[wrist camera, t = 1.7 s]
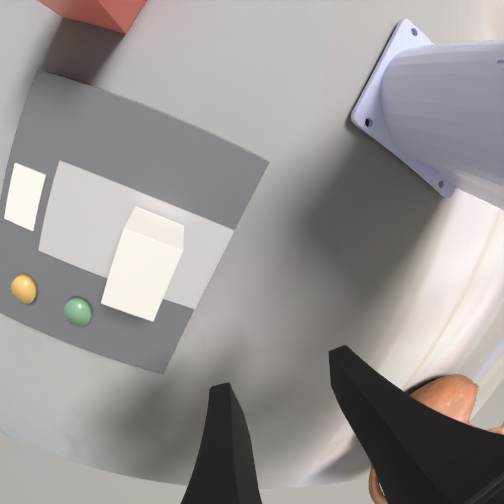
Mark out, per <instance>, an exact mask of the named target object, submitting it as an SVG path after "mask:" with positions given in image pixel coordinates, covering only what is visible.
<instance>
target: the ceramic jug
mask: <svg viewBox="0 0 504 504" xmlns="http://www.w3.org/2000/svg"><path fill="white" fill-rule="evenodd" d="M479 388H480V387H479V386H478V385H477V384H474V383H473V382H472V380H470V379H469V378H467V377H465V376H463V375H448V376H444V377H441V378H438V379H436V380H434V381H432V382H430V383H428V384H426V385H424V386H422V387H421V388H419V389H417V390H416V391H414V392H413V393H412V394H410V396H411V397H413V398H415V399H416V400H418V401H419V402H421V403H423V404H425V405H426V406H428V407H430V408H432V409H434V410H436V411H438V412H440V413H442V414H444V415H446V416H448V417H451V418H453V419H456V420H458V421H461V422H463V423H466V424H468V425H471V424H470V423H469V419H470V416H471V413H472V410H473V407H474V404H475V401H476V395H477V393H478V390H479ZM471 426H473V425H471ZM474 427H475V426H474ZM477 428H478V427H477ZM487 431H490V432H494V433H498V434H503V435H504V423H503V425H502V426H501V427H499V428H495V429H490V430H487ZM369 492H370V495H371V498H372V500H373V501H374V503H375V504H388V503H387V500H386V497H385V496H384V495H383V492H382V491H381V489H380V485H379V480H378V477H377V475H376V473H375V470H374V468H373V466H371V471H370V476H369Z"/></svg>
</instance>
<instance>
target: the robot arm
mask: <svg viewBox="0 0 504 504" xmlns="http://www.w3.org/2000/svg"><path fill="white" fill-rule="evenodd" d="M411 30H412V31H413V34H414V35H413V34H412V33H411ZM367 118H368V120H369V125H368V126H366V125H365V120H366V119H367ZM351 120H352V122H353V123H354V125H356V126H357V127H359V128H360V129H361V130H363V131H364V132H365V133H367V134H368V135H370V136H371V137H372V138H374V139H375V140H376V141H378V142H379V143H380V144H381V145H383V146H384V147H385V148H387V149H388V150H389V151H390V152H392V153H393V154H394V155H395V156H397V157H398V158H399V159H400V160H402V161H403V162H404V163H405V164H406V165H408V166H409V167H410V168H411V169H412V170H414V171H415V172H416V173H417V174H418V175H419V176H421V177H422V178H423V179H424V180H425V181H426V182H427V183H428V184H430V185H431V186H432V187H433V188H434V189H435V190H436V191H437V192H438V193H439V194H441V195H442V196H443V197H445V198H449V197H451V195H452V193H453V191H454V189H455V188H458V189H460V190H462V191H465V192H467V193H469V194H471V195H474V196H476V197H478V198H480V199H482V200H484V201H487V202H489V203H491V204H493V205H495V206H497V207H499V208H501V209H503V210H504V40H489V41H468V42H455V43H444V44H435V45H434V44H433V43H432V42H431V41H430V40H429V39H428V38H427V37H426V36H425V35H424V34H423V33H422V32H421V31H420V30H419V29H418V28H417V27H416V26H415V25H414V24H413V23H412V22H410V21H409V20H407V19H404V20H400V21H399V23H398V25H397V27H396V29H395V31H394V33H393V35H392V37H391V39H390V41H389V42H388V44H387V46H386V48H385V50H384V52H383V54H382V56H381V58H380V60H379V62H378V64H377V66H376V68H375V70H374V71H373V73H372V75H371V77H370V79H369V81H368V83H367V85H366V87H365V89H364V90H363V92H362V94H361V96H360V98H359V100H358V102H357V104H356V106H355V107H354V109H353V111H352V114H351ZM439 182H440V185H439ZM329 363H330V377H331V387H332V389H333V391H334V394H335V396H336V399H337V401H338V403H339V406H340V408H341V410H342V412H343V413H344V415H345V417H346V419H347V420H348V422H349V424H350V426H351V427H352V429H353V431H354V433H355V434H356V436H357V438H358V440H359V441H360V443H361V445H362V446H363V448H364V450H365V452H366V453H367V455H368V457H369V459H370V461H371V463H372V466H373V468H374V470H375V473H376V475H377V477H378V480H379V482H380V485H381V487H382V489H383V492H384V495H385V497H386V500H387V503H388V504H504V435H503V434H498V433H494V432H490V431H487V430H483V429H480V428H477V427H474V426H471V425H468V424H466V423H463V422H461V421H458V420H456V419H453V418H451V417H448V416H446V415H444V414H442V413H440V412H438V411H436V410H434V409H432V408H430V407H428V406H426V405H425V404H423V403H421V402H419V401H418V400H416V399H415V398H413V397H411V396H410V395H408V394H407V393H405V392H404V391H402V390H401V389H399V388H398V387H396V386H395V385H394V384H392V383H391V382H390V381H388V380H387V379H386V378H384V377H383V376H382V375H380V374H379V373H378V372H376V371H375V370H374V369H373V368H372V367H370V366H369V365H368V364H367V363H366V362H364V361H363V360H362V359H361V358H360V357H359V356H358V355H356V354H355V353H354V352H353V351H352V350H351V349H350V348H349V347H348V346H346V345H344V346H341V347H339V348H336V349H333V350H330V351H329ZM181 504H262V501H261V498H260V493H259V489H258V483H257V477H256V470H255V464H254V458H253V452H252V446H251V439H250V435H249V431H248V427H247V424H246V420H245V416H244V413H243V411H242V409H241V407H240V405H239V402H238V400H237V398H236V396H235V394H234V392H233V390H232V388H231V385H230V383H229V382H228V383H224V384H220V385H216V386H212V387H211V388H210V392H209V403H208V410H207V416H206V422H205V427H204V432H203V436H202V441H201V445H200V449H199V453H198V456H197V460H196V463H195V467H194V470H193V473H192V476H191V479H190V482H189V485H188V487H187V490H186V493H185V495H184V497H183V499H182V502H181Z"/></svg>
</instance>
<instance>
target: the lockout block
mask: <svg viewBox="0 0 504 504" xmlns="http://www.w3.org/2000/svg"><path fill="white" fill-rule="evenodd" d="M37 1H39V2H40V3H42V4H43V5H45V6H46V7H48V8H49V9H51V10H52V11H54V12H55V13H57V14H58V15H60V16H61V17H63V18H68V19H72V20H76V21H81V22H85V23H89V24H93V25H97V26H100V27H104V28H107V29H111V30H114V31H118V32H121V33H124V34H127V32H128V30H129V28H130V27H131V25H132V23H133V22H134V20H135V19H136V17H137V15H138V14H139V12H140V11H141V9H142V7H143V6H144V4H145V3H146V1H147V0H37Z"/></svg>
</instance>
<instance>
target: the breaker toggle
mask: <svg viewBox="0 0 504 504" xmlns="http://www.w3.org/2000/svg"><path fill="white" fill-rule="evenodd" d="M183 248H184V225H182V224H179V223H177V222H174V221H172V220H169V219H167V218H164V217H162V216H159V215H156V214H154V213H151V212H149V211H146V210H144V209H141V208H139V207H136V206H135V208H134V210H133V212H132V214H131V216H130V217H129V219H128V221H127V223H126V225H125V227H124V229H123V232H122V235H121V238H120V241H119V244H118V247H117V250H116V253H115V256H114V259H113V263H112V266H111V269H110V273H109V276H108V279H107V283H106V286H105V290H104V293H103V297H102V301H101V304H104V305H107V306H109V307H112V308H115V309H118V310H121V311H123V312H126V313H129V314H132V315H135V316H138V317H141V318H144V319H147V320H150V321H154V319H155V316H156V314H157V311H158V309H159V307H160V304H161V302H162V299H163V297H164V294H165V292H166V290H167V287H168V285H169V283H170V280H171V278H172V276H173V273H174V271H175V269H176V266H177V264H178V262H179V260H180V257H181V255H182V253H183Z"/></svg>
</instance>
